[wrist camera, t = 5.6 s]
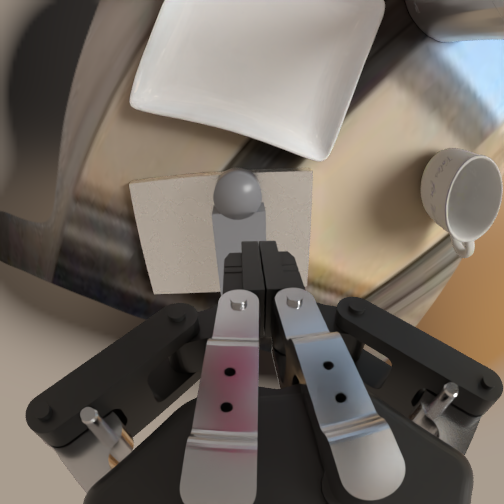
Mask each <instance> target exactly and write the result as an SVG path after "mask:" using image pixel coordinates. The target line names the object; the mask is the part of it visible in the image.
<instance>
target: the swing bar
mask: <svg viewBox="0 0 504 504" xmlns="http://www.w3.org/2000/svg"><path fill="white" fill-rule="evenodd" d="M213 200H214V204H215V205H214V206H213V210H212V223H213V233H214V242H215V250H216V259H217V267H218V276H219V284H220V291H221V296H222V295H223V275H224V259H225V258H226V257H227V255H228V254H229V253H241V241H258V246H259V241H266V211H265V206H264V202H261V201H262V193H261V188H260V184H259V181H258V179H257V177H256V176H255V175H254V174H253V173H252V172H251V171H249V170H247V169H244V168H232V169H229V170H227V171H225V172H224V173H222V174H221V175H220V177H219V178H218V180H217V182H216V186H215V190H214V194H213Z"/></svg>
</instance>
